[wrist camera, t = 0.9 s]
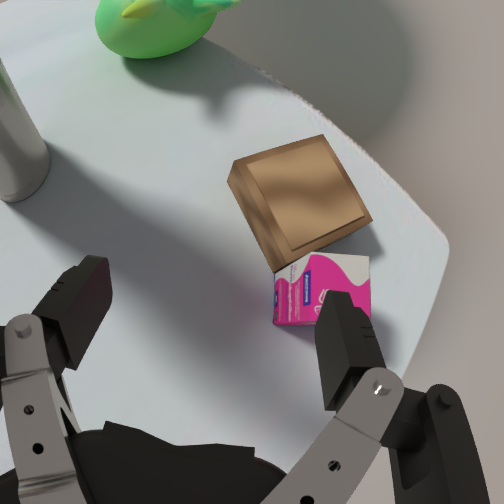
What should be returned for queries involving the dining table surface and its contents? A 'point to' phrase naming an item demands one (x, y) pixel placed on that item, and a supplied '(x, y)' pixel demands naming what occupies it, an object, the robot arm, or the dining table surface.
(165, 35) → the toy bird
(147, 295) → the dining table surface
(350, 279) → the supplement box
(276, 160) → the walnut plinth
